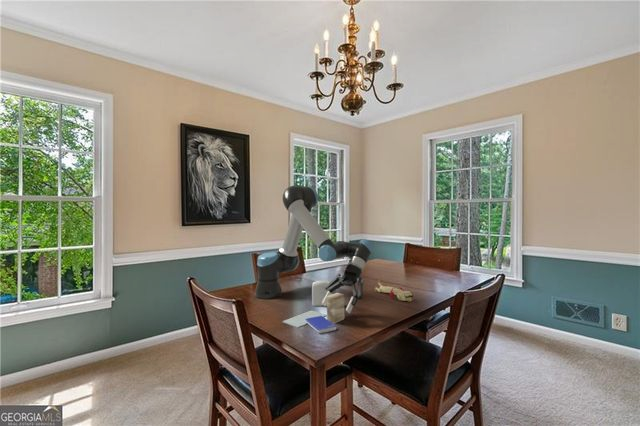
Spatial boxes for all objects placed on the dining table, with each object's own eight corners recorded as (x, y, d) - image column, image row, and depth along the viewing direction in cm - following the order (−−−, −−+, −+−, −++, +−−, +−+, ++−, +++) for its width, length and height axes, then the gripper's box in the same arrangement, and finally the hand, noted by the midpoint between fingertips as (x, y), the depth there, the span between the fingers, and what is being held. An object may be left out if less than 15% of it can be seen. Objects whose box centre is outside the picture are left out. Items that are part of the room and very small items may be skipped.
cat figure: (372, 295, 173) (404, 303, 152) (371, 279, 173) (403, 285, 152) (385, 292, 178) (418, 299, 157) (384, 277, 179) (417, 283, 157)
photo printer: (312, 306, 150) (311, 282, 150) (312, 303, 155) (312, 279, 154) (332, 306, 150) (332, 281, 150) (332, 303, 154) (332, 279, 154)
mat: (282, 322, 130) (282, 321, 130) (311, 311, 144) (311, 310, 144) (297, 327, 124) (297, 327, 124) (326, 315, 137) (326, 314, 137)
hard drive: (336, 325, 122) (322, 315, 133) (318, 329, 118) (305, 318, 129) (336, 329, 122) (322, 318, 133) (318, 333, 118) (305, 322, 129)
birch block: (327, 321, 131) (326, 296, 131) (337, 316, 136) (337, 292, 136) (334, 323, 128) (334, 298, 128) (344, 318, 133) (344, 294, 133)
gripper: (381, 276, 135) (362, 319, 125) (337, 269, 152) (318, 306, 141) (374, 266, 131) (355, 310, 121) (330, 260, 148) (310, 298, 137)
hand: (335, 308), depth 131 cm, fingers open, 13 cm apart
